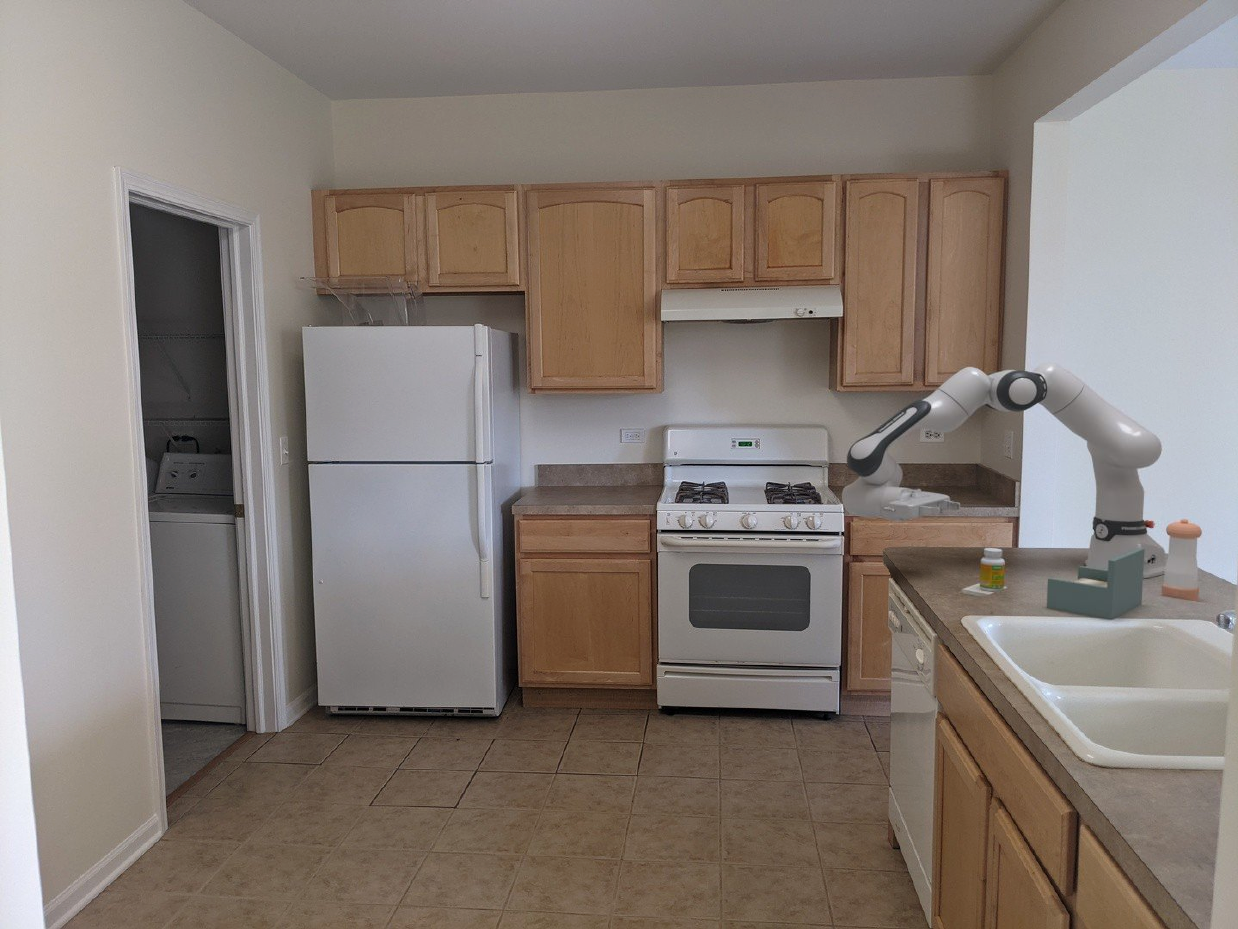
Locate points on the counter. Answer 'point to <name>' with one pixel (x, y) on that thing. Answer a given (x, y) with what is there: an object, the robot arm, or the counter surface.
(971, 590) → the plate
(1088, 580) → the birch offcut top
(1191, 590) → the pepper shaker
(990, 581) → the supplement bottle
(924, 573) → the counter surface
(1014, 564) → the counter surface
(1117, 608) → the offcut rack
